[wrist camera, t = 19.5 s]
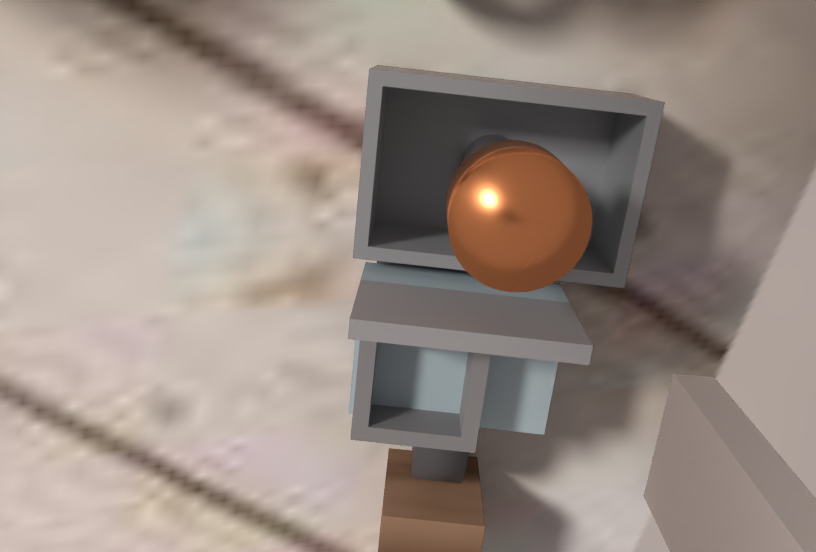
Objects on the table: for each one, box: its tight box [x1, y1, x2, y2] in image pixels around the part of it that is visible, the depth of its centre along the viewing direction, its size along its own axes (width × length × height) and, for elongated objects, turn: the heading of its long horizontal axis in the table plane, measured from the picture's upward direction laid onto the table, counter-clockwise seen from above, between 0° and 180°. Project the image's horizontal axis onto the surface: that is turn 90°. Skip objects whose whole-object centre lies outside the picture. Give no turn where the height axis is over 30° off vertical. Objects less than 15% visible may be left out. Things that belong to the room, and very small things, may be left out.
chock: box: [378, 448, 485, 552], centre depth 38 cm, size 6×5×6 cm
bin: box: [353, 65, 665, 288], centre depth 32 cm, size 8×12×5 cm, turn 84°
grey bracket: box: [348, 261, 593, 484], centre depth 32 cm, size 11×9×10 cm
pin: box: [446, 134, 592, 292], centre depth 29 cm, size 5×5×11 cm
